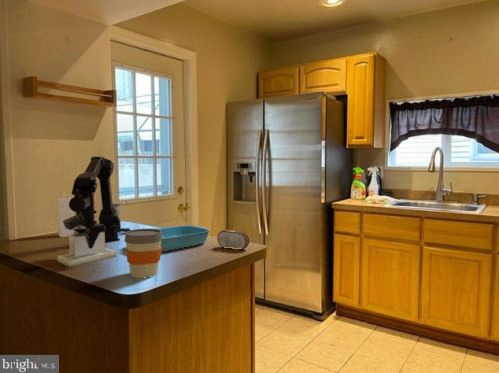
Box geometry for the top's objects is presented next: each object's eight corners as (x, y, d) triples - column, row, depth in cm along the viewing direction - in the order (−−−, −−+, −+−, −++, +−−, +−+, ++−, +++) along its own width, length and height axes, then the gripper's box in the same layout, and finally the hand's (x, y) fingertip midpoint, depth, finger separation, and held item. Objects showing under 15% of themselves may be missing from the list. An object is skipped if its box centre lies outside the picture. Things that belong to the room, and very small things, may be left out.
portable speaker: (249, 250, 168) (249, 231, 167) (246, 251, 165) (246, 232, 164) (219, 246, 174) (219, 228, 173) (216, 247, 171) (216, 229, 170)
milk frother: (105, 229, 209) (105, 203, 208) (135, 229, 211) (134, 203, 209) (98, 235, 195) (97, 206, 194) (129, 234, 197) (129, 206, 195)
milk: (60, 237, 189) (58, 193, 187) (58, 235, 194) (56, 192, 192) (73, 236, 193) (72, 192, 191) (71, 233, 198) (69, 191, 196)
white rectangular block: (69, 255, 148) (68, 235, 147) (99, 249, 157) (98, 230, 156) (75, 257, 145) (74, 237, 144) (105, 251, 154) (104, 232, 153)
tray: (104, 252, 161) (103, 247, 161) (116, 256, 155) (116, 251, 155) (57, 261, 147) (57, 256, 147) (69, 266, 141) (69, 260, 140)
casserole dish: (190, 236, 196) (190, 222, 195) (218, 243, 180) (218, 228, 180) (123, 248, 170) (122, 232, 169) (149, 258, 154) (149, 240, 154)
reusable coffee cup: (138, 267, 140) (138, 227, 139) (169, 270, 137) (168, 229, 135) (117, 278, 128) (116, 234, 127) (150, 281, 125) (149, 237, 123)
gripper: (55, 208, 149) (56, 247, 151) (76, 213, 137) (78, 255, 138) (83, 205, 158) (84, 242, 159) (105, 209, 146) (106, 249, 147)
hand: (87, 247), depth 151 cm, fingers closed on white rectangular block, 5 cm apart
